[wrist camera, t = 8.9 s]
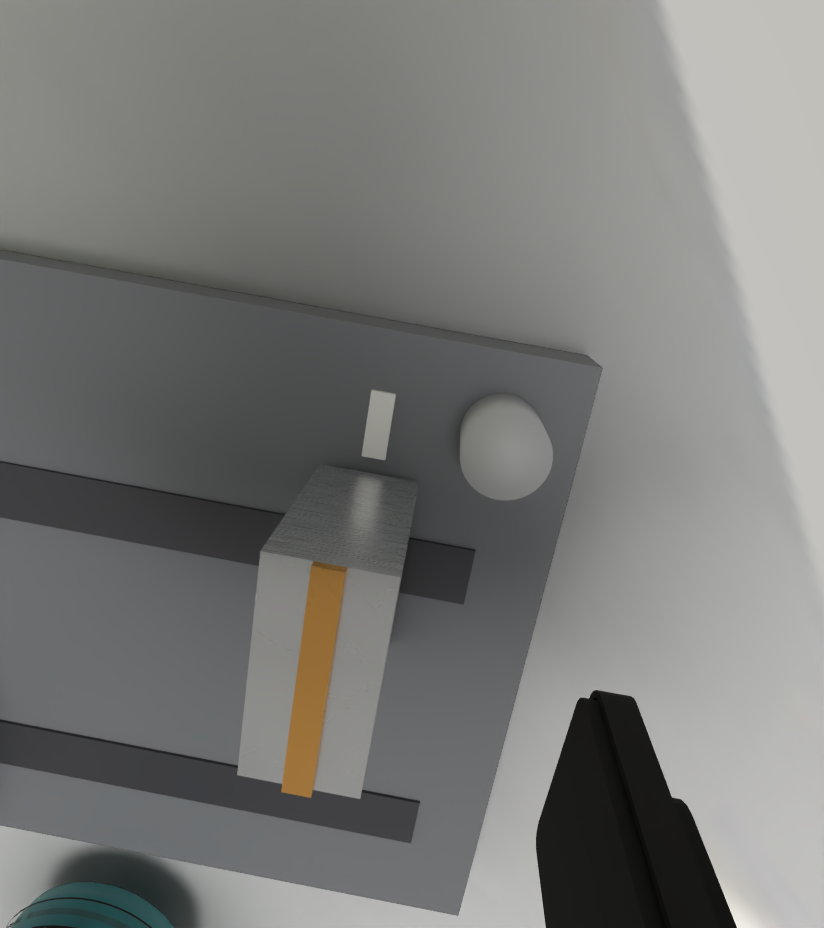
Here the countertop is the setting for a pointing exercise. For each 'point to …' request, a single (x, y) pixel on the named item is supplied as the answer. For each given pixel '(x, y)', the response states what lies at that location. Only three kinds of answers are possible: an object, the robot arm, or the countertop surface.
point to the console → (237, 562)
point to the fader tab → (324, 631)
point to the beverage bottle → (90, 909)
